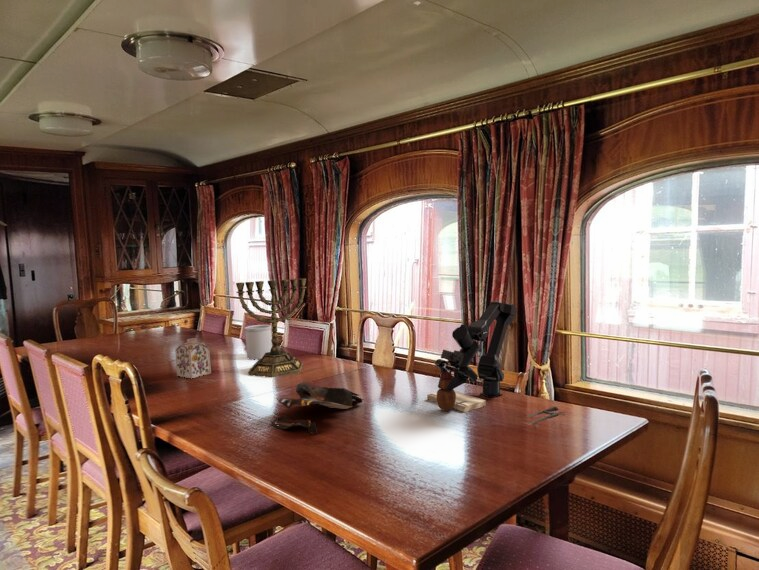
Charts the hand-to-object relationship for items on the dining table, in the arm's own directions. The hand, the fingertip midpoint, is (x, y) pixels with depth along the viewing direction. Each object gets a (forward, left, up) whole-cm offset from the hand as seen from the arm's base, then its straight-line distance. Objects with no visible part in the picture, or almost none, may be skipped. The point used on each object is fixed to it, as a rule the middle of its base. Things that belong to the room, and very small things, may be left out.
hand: (443, 389), depth 182 cm
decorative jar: (+54, -121, -8) cm, 132 cm away
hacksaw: (-20, +27, -9) cm, 35 cm away
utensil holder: (+13, -138, -8) cm, 138 cm away
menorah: (+19, -102, -8) cm, 104 cm away
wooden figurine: (-1, 0, -8) cm, 8 cm away
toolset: (+34, -24, -9) cm, 43 cm away
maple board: (-11, -5, -8) cm, 14 cm away
